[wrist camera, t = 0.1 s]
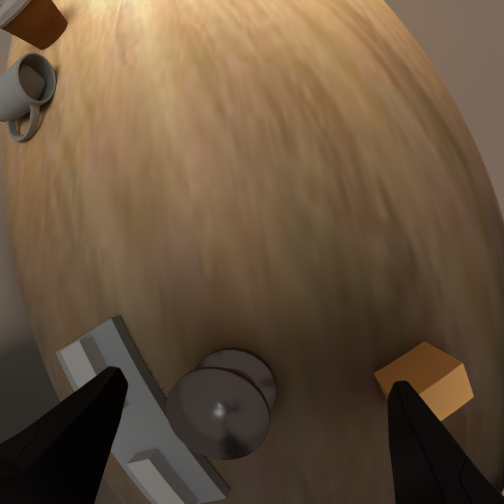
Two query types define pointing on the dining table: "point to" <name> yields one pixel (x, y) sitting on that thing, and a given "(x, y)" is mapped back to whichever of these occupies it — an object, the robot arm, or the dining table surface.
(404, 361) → the orange tab
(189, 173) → the dining table surface
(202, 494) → the notched board
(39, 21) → the disposable coffee cup
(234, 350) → the grey and brown spool
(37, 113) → the ceramic mug
